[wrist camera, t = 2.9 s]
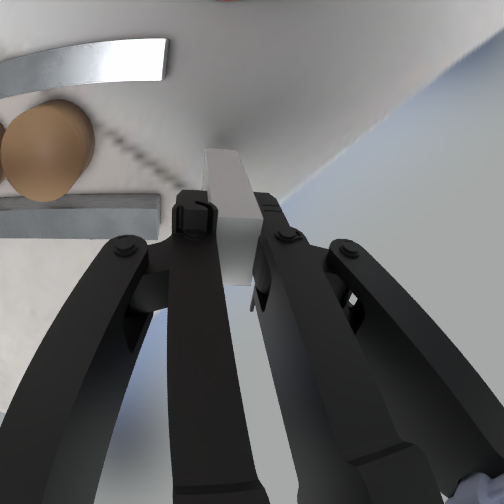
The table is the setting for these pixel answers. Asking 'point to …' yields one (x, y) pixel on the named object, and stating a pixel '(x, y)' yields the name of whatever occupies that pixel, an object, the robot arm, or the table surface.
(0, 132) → the disc
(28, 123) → the disc
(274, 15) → the table surface
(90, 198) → the slot rails
